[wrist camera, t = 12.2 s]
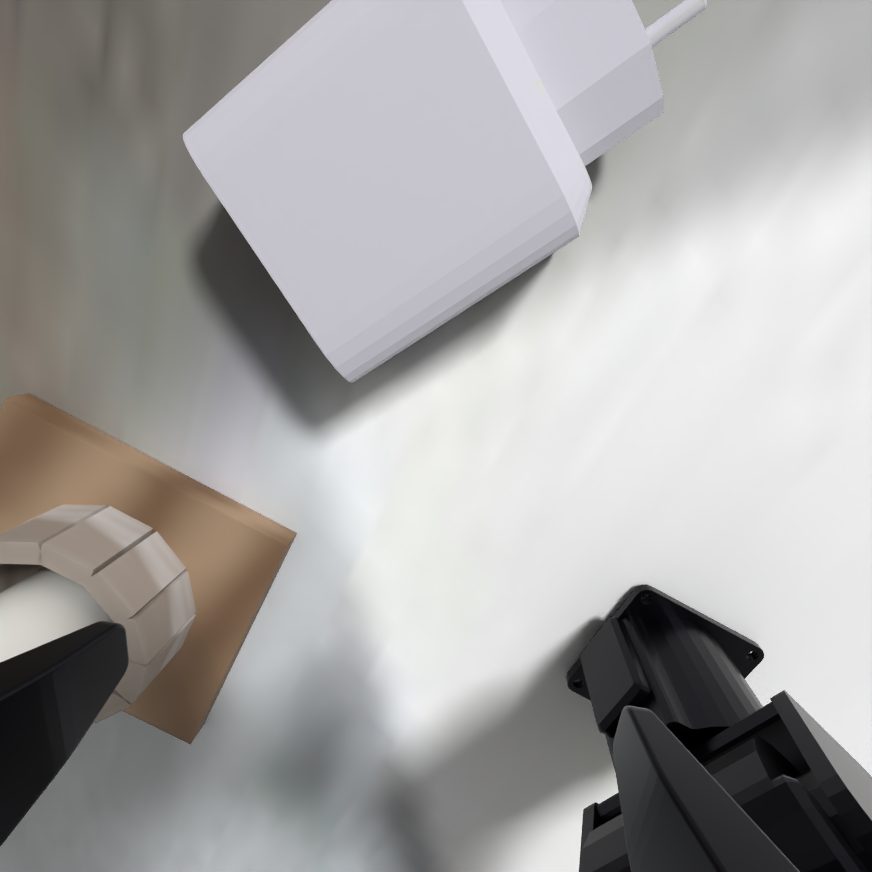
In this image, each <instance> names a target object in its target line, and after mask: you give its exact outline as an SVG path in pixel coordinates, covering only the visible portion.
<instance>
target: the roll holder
mask: <svg viewBox="0 0 872 872" xmlns="http://www.w3.org/2000/svg"><path fill="white" fill-rule="evenodd" d="M296 534H297V533H295V532H293V531H291V530H289V529H287V528H285V527H284V526H282V525H280V524H278V523H276V522H274V521H272V520H270V519H268V518H266V517H264V516H262V515H261V514H259V513H257V512H255V511H253V510H251V509H249V508H247V507H245V506H243V505H241V504H239V503H238V502H236V501H234V500H232V499H230V498H228V497H226V496H224V495H222V494H220V493H218V492H216V491H215V490H213V489H211V488H209V487H207V486H205V485H203V484H201V483H199V482H197V481H195V480H194V479H192V478H190V477H188V476H186V475H184V474H182V473H180V472H178V471H176V470H174V469H172V468H171V467H169V466H167V465H165V464H163V463H161V462H159V461H157V460H155V459H153V458H151V457H149V456H148V455H146V454H144V453H142V452H140V451H138V450H136V449H134V448H132V447H130V446H128V445H127V444H125V443H123V442H121V441H119V440H117V439H115V438H113V437H111V436H109V435H107V434H105V433H104V432H102V431H100V430H98V429H96V428H94V427H92V426H90V425H88V424H86V423H84V422H82V421H81V420H79V419H77V418H75V417H73V416H71V415H69V414H67V413H65V412H63V411H61V410H60V409H58V408H56V407H54V406H52V405H50V404H48V403H46V402H44V401H42V400H40V399H38V398H37V397H35V396H33V395H31V394H29V393H28V394H24V395H19V396H14V397H9V398H5V399H3V404H2V408H1V413H0V593H1V592H3V591H5V590H6V589H8V588H10V587H11V586H13V585H15V584H16V583H18V582H19V581H21V580H23V579H24V578H26V577H28V576H29V575H31V574H33V573H34V572H36V571H38V570H39V569H41V568H43V567H46V568H48V569H50V570H52V571H54V572H56V573H58V574H60V575H62V576H64V577H66V578H68V579H70V580H72V581H74V582H76V583H78V584H80V585H82V586H84V588H85V589H86V590H87V591H88V592H89V593H90V595H91V596H92V597H93V598H94V599H95V600H96V601H97V603H98V604H99V605H100V606H101V607H102V608H103V610H104V611H105V612H106V613H107V614H108V615H109V616H110V618H111V619H112V620H113V621H114V623H120V624H122V625H123V626H124V627H125V629H126V635H127V644H128V654H129V664H128V668H127V670H126V672H125V674H124V676H123V678H122V679H121V681H120V682H119V684H118V685H117V687H116V688H115V690H114V691H113V693H112V694H111V696H110V697H109V699H108V700H107V702H106V703H105V705H104V706H103V708H102V709H101V711H100V712H99V714H98V716H97V717H96V719H95V720H94V722H95V723H98V722H100V721H102V720H103V719H105V718H107V717H109V716H111V715H113V714H115V713H117V712H119V711H121V710H122V711H124V712H126V713H128V714H130V715H132V716H134V717H136V718H138V719H140V720H142V721H144V722H146V723H148V724H150V725H153V726H155V727H157V728H159V729H161V730H163V731H165V732H167V733H169V734H171V735H173V736H175V737H177V738H179V739H181V740H183V741H185V742H187V743H189V744H191V743H192V741H193V740H194V738H195V737H196V735H197V734H198V732H199V731H200V729H201V728H202V726H203V724H204V722H205V720H206V718H207V716H208V714H209V712H210V710H211V708H212V706H213V704H214V702H215V700H216V698H217V696H218V694H219V692H220V690H221V688H222V686H223V684H224V681H225V679H226V677H227V675H228V673H229V671H230V669H231V667H232V665H233V663H234V661H235V659H236V657H237V655H238V653H239V651H240V649H241V647H242V645H243V643H244V641H245V639H246V636H247V634H248V632H249V630H250V628H251V626H252V624H253V622H254V620H255V618H256V616H257V614H258V612H259V610H260V608H261V606H262V604H263V602H264V600H265V598H266V596H267V594H268V591H269V589H270V587H271V585H272V583H273V581H274V579H275V577H276V575H277V573H278V571H279V569H280V567H281V565H282V563H283V561H284V559H285V557H286V555H287V553H288V551H289V549H290V546H291V544H292V542H293V540H294V538H295V536H296ZM94 722H93V723H94ZM93 723H92V724H93Z"/></svg>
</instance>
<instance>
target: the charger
mask: <svg viewBox="0 0 872 872" xmlns="http://www.w3.org/2000/svg"><path fill="white" fill-rule="evenodd" d="M706 3H707V0H684V1H683V2H682V3H680V4H679V5H678V6H676V7H675V8H673V9H672V10H671V11H669V12H668V13H667V14H665V15H664V16H663V17H661V18H660V19H658V20H657V21H656V22H654V23H653V24H652V25H650V26H649V27H648V28H646V29H645V28H644V26H643V24H642V22H641V20H640V17H639V15H638V13H637V11H636V9H635V6H634V4H633V2H632V0H332V1H331V2H330V3H328V4H327V5H326V6H325V7H324V8H323V9H322V10H321V11H320V12H318V13H317V14H316V15H315V16H314V17H313V18H312V19H311V20H310V21H308V22H307V23H306V24H305V25H304V26H303V27H302V28H301V29H299V30H298V31H297V32H296V33H295V34H294V35H293V36H292V37H291V38H289V39H288V40H287V41H286V42H285V43H284V44H283V45H282V46H281V47H279V48H278V49H277V50H276V51H275V52H274V53H273V54H272V55H270V56H269V57H268V58H267V59H266V60H265V61H264V62H263V63H262V64H260V65H259V66H258V67H257V68H256V69H255V70H254V71H253V72H252V73H250V74H249V75H248V76H247V77H246V78H245V79H244V80H243V81H242V82H240V83H239V84H238V85H237V86H236V87H235V88H234V89H233V90H231V91H230V92H229V93H228V94H227V95H226V96H225V97H224V98H223V99H221V100H220V101H219V102H218V103H217V104H216V105H215V106H214V107H213V108H211V109H210V110H209V111H208V112H207V113H206V114H205V115H204V116H202V117H201V118H200V119H199V120H198V121H197V122H196V123H195V124H194V125H192V126H191V127H190V128H189V129H188V130H187V131H186V132H185V133H184V134H183V140H184V142H185V145H186V147H187V149H188V151H189V153H190V155H191V157H192V158H193V160H194V162H195V164H196V165H197V167H198V168H199V170H200V171H201V173H202V175H203V176H204V178H205V179H206V181H207V182H208V184H209V185H210V187H211V188H212V190H213V191H214V193H215V194H216V196H217V197H218V199H219V200H220V201H221V203H222V204H223V206H224V207H225V209H226V210H227V212H228V213H229V215H230V216H231V218H232V219H233V221H234V222H235V224H236V225H237V227H238V228H239V230H240V231H241V233H242V234H243V236H244V237H245V239H246V240H247V242H248V243H249V244H250V246H251V247H252V249H253V250H254V252H255V253H256V255H257V256H258V258H259V259H260V261H261V262H262V264H263V265H264V267H265V268H266V270H267V271H268V273H269V274H270V276H271V277H272V279H273V280H274V282H275V283H276V285H277V286H278V287H279V289H280V290H281V292H282V293H283V295H284V296H285V298H286V299H287V301H288V302H289V304H290V305H291V307H292V308H293V310H294V311H295V313H296V314H297V316H298V317H299V319H300V320H301V322H302V323H303V325H304V326H305V328H306V329H307V330H308V332H309V333H310V335H311V336H312V338H313V339H314V341H315V342H316V344H317V345H318V347H319V348H320V349H321V351H322V352H323V354H324V355H325V356H326V358H327V359H328V360H329V361H330V363H331V364H332V365H333V366H334V368H335V369H336V370H337V371H338V372H339V373H340V374H341V375H342V376H343V377H344V378H345V379H346V380H347V381H349V382H352V383H353V382H355V381H356V380H358V379H359V378H361V377H362V376H364V375H365V374H367V373H369V372H370V371H372V370H373V369H375V368H376V367H378V366H379V365H381V364H382V363H384V362H386V361H387V360H389V359H390V358H392V357H393V356H395V355H396V354H398V353H399V352H401V351H403V350H404V349H406V348H407V347H409V346H410V345H412V344H413V343H415V342H416V341H418V340H420V339H421V338H423V337H424V336H426V335H427V334H429V333H430V332H432V331H433V330H435V329H437V328H438V327H440V326H441V325H443V324H444V323H446V322H447V321H449V320H450V319H452V318H454V317H455V316H457V315H458V314H460V313H461V312H463V311H464V310H466V309H467V308H469V307H471V306H472V305H474V304H475V303H477V302H478V301H480V300H481V299H483V298H484V297H486V296H488V295H489V294H491V293H492V292H494V291H495V290H497V289H498V288H500V287H501V286H503V285H505V284H506V283H508V282H509V281H511V280H512V279H514V278H515V277H517V276H518V275H520V274H522V273H523V272H525V271H526V270H528V269H529V268H531V267H532V266H534V265H535V264H537V263H539V262H540V261H542V260H543V259H545V258H546V257H548V256H549V255H551V254H552V253H554V252H556V251H557V250H559V249H560V248H562V247H563V246H565V245H566V244H568V243H569V242H571V241H573V240H574V239H576V238H577V237H579V234H580V230H581V227H582V223H583V219H584V216H585V212H586V209H587V205H588V201H589V198H590V194H591V191H592V183H591V180H590V177H589V175H588V173H587V170H586V168H585V166H586V165H588V164H589V163H590V162H592V161H593V160H595V159H596V158H598V157H599V156H601V155H602V154H604V153H605V152H607V151H608V150H610V149H611V148H612V147H614V146H615V145H617V144H618V143H620V142H621V141H623V140H624V139H626V138H627V137H629V136H630V135H631V134H633V133H634V132H636V131H637V130H639V129H640V128H642V127H643V126H645V125H646V124H648V123H649V122H651V121H652V120H653V119H655V118H656V117H658V116H659V115H661V114H662V113H664V96H663V92H662V88H661V83H660V79H659V75H658V71H657V66H656V62H655V58H654V53H653V49H652V47H654V46H655V45H656V44H658V43H659V42H660V41H662V40H663V39H665V38H666V37H667V36H669V35H670V34H672V33H673V32H674V31H676V30H677V29H678V28H680V27H681V26H683V25H684V24H685V23H687V22H688V21H690V20H691V19H692V18H694V17H695V16H696V15H698V14H699V13H701V12H702V11H703V10H704V9H705V7H706Z"/></svg>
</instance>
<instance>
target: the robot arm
mask: <svg viewBox="0 0 872 872" xmlns="http://www.w3.org/2000/svg"><path fill="white" fill-rule="evenodd" d="M644 595H649V597H648V598H647V599H641V597H642V596H644ZM750 651H753V652H752V653H750V654H747V653H748V652H750ZM763 658H764V653H763V651H762V649H761V648H760V647H759V645H758V644H757V643H755V642H754V641H752V640H750V639H748V638H747V637H745V636H743V635H741V634H739V633H737V632H735V631H734V630H732V629H730V628H728V627H726V626H724V625H722V624H720V623H719V622H717V621H715V620H713V619H711V618H709V617H707V616H706V615H704V614H702V613H700V612H698V611H696V610H694V609H693V608H691V607H689V606H687V605H685V604H683V603H681V602H679V601H678V600H676V599H674V598H672V597H670V596H668V595H666V594H665V593H663V592H661V591H659V590H657V589H655V588H653V587H651V586H649V585H640V586H637V587H636V588H635V589H634V590H633V592H632V593H631V594H630V595H629V597H628V598H627V599H626V600H625V602H624V603H623V604H622V605H621V607H620V608H619V609H618V610H617V612H616V613H615V614H614V615H613V617H611V618H609V619H608V620H607V621H606V622H605V623H604V625H603V626H602V627H601V628H600V630H599V631H598V632H597V633H596V635H595V636H594V637H593V638H592V640H591V641H590V642H589V644H588V645H587V646H586V647H585V649H584V650H583V651H582V652H581V654H580V658H579V659H578V661H577V662H576V663H575V664H574V666H573V667H572V668H571V669H570V671H569V672H568V674H567V676H566V679H567V684H568V687H569V689H571V690H572V691H574V692H576V693H577V694H579V695H581V696H583V697H585V698H587V699H589V700H591V702H592V706H593V710H594V714H595V718H596V722H597V726H598V729H599V731H600V732H601V733H603V734H605V735H606V739H607V742H608V746H609V750H610V754H611V757H612V761H613V765H614V768H615V772H616V777H617V784H618V791H619V792H618V793H617V794H615V795H613V796H612V797H610V798H608V799H607V800H605V801H603V802H602V803H600V804H598V803H593V804H592V805H590V806H588V807H587V808H585V809H584V811H583V824H582V837H581V851H580V865H579V872H872V777H871V776H870V774H869V773H868V772H867V771H866V770H865V769H864V768H863V767H862V766H861V765H860V764H859V763H858V762H857V761H856V760H855V759H854V758H853V757H852V756H851V755H850V754H849V753H848V752H847V751H846V750H845V749H844V748H843V747H842V746H841V745H840V744H838V743H837V742H836V741H835V740H834V739H833V738H832V737H831V736H830V735H829V734H828V733H827V732H826V731H825V730H824V729H823V728H822V727H821V726H820V725H819V724H818V723H817V722H816V721H815V720H814V719H813V718H812V717H811V716H810V715H809V714H808V713H807V712H806V711H805V710H804V709H803V708H802V707H801V706H800V705H799V704H798V703H797V702H796V701H795V700H794V699H793V698H792V697H791V696H790V695H789V694H788V693H787V692H786V691H785V690H784V691H782V692H780V693H779V694H777V695H775V696H773V697H772V698H770V699H771V701H772V702H771V703H769V704H767V705H766V706H764V707H763V706H762V704H761V703H760V701H759V700H758V698H757V697H756V695H755V694H754V693H753V691H752V690H751V688H750V687H749V685H748V684H747V682H746V681H745V678H746V677H747V676H748V675H749V673H750V672H751V671H752V670H753V669H754V668H755V667H756V666H757V665H758V664H759V663H760V662H761V661H762V659H763ZM128 664H129V654H128V644H127V635H126V629H125V627H124V626H123V625H122V624H120V623H114V622H108V621H99V622H96V623H93V624H91V625H89V626H86V627H84V628H81V629H79V630H77V631H74V632H72V633H69V634H67V635H65V636H62V637H60V638H57V639H55V640H53V641H50V642H48V643H46V644H43V645H41V646H38V647H36V648H34V649H31V650H29V651H26V652H24V653H22V654H19V655H17V656H14V657H12V658H10V659H7V660H5V661H3V662H0V846H1V845H2V844H3V843H4V841H5V840H6V839H7V837H8V836H9V835H10V834H11V832H12V831H13V830H14V828H15V827H16V826H17V825H18V823H19V822H20V821H21V820H22V818H23V817H24V816H25V814H26V813H27V812H28V811H29V809H30V808H31V807H32V805H33V804H34V803H35V802H36V800H37V799H38V798H39V797H40V795H41V794H42V793H43V791H44V790H45V789H46V788H47V786H48V785H49V784H50V782H51V781H52V780H53V779H54V777H55V776H56V775H57V773H58V772H59V771H60V769H61V768H62V767H63V765H64V764H65V763H66V761H67V760H68V759H69V757H70V756H71V754H72V753H73V751H74V750H75V749H76V747H77V746H78V744H79V743H80V741H81V740H82V738H83V737H84V735H85V734H86V732H87V731H88V729H89V728H90V726H91V725H92V723H93V722H94V720H95V719H96V717H97V716H98V714H99V712H100V711H101V709H102V708H103V706H104V705H105V703H106V702H107V700H108V699H109V697H110V696H111V694H112V693H113V691H114V690H115V688H116V687H117V685H118V684H119V682H120V681H121V679H122V678H123V676H124V674H125V672H126V670H127V668H128ZM578 679H579V680H581V681H579V682H575V680H578Z"/></svg>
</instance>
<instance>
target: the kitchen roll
mask: <svg viewBox="0 0 872 872" xmlns="http://www.w3.org/2000/svg"><path fill="white" fill-rule="evenodd" d="M99 621H108V622H114V621H113V620H112V619H111V618H110V616H109V615H108V614H107V613H106V612H105V611H104V610H103V608H102V607H101V606H100V605H99V604H98V603H97V601H96V600H95V599H94V598H93V597H92V596H91V595H90V593H89V592H88V591H87V590H86V589H85V588H84V586H82V585H80V584H78V583H76V582H74V581H72V580H70V579H68V578H66V577H64V576H62V575H60V574H58V573H56V572H54V571H52V570H50V569H48V568H46V567H43V568H41V569H39V570H38V571H36V572H34V573H33V574H31V575H29V576H28V577H26V578H24V579H23V580H21V581H19V582H18V583H16V584H15V585H13V586H11V587H10V588H8V589H6V590H5V591H3V592H1V593H0V662H3V661H5V660H7V659H10V658H12V657H14V656H17V655H19V654H22V653H24V652H26V651H29V650H31V649H34V648H36V647H38V646H41V645H43V644H46V643H48V642H50V641H53V640H55V639H57V638H60V637H62V636H65V635H67V634H69V633H72V632H74V631H77V630H79V629H81V628H84V627H86V626H89V625H91V624H93V623H96V622H99Z"/></svg>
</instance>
